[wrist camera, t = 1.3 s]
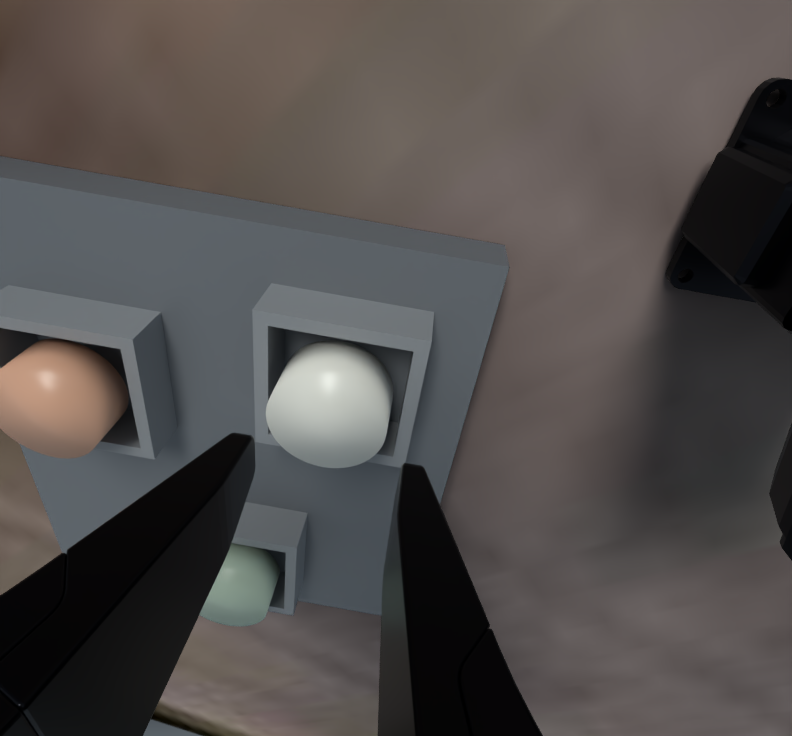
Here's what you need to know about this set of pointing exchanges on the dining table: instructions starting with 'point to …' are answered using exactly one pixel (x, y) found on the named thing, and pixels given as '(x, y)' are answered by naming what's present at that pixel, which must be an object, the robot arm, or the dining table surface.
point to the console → (242, 352)
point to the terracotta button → (60, 398)
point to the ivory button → (331, 405)
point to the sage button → (242, 587)
